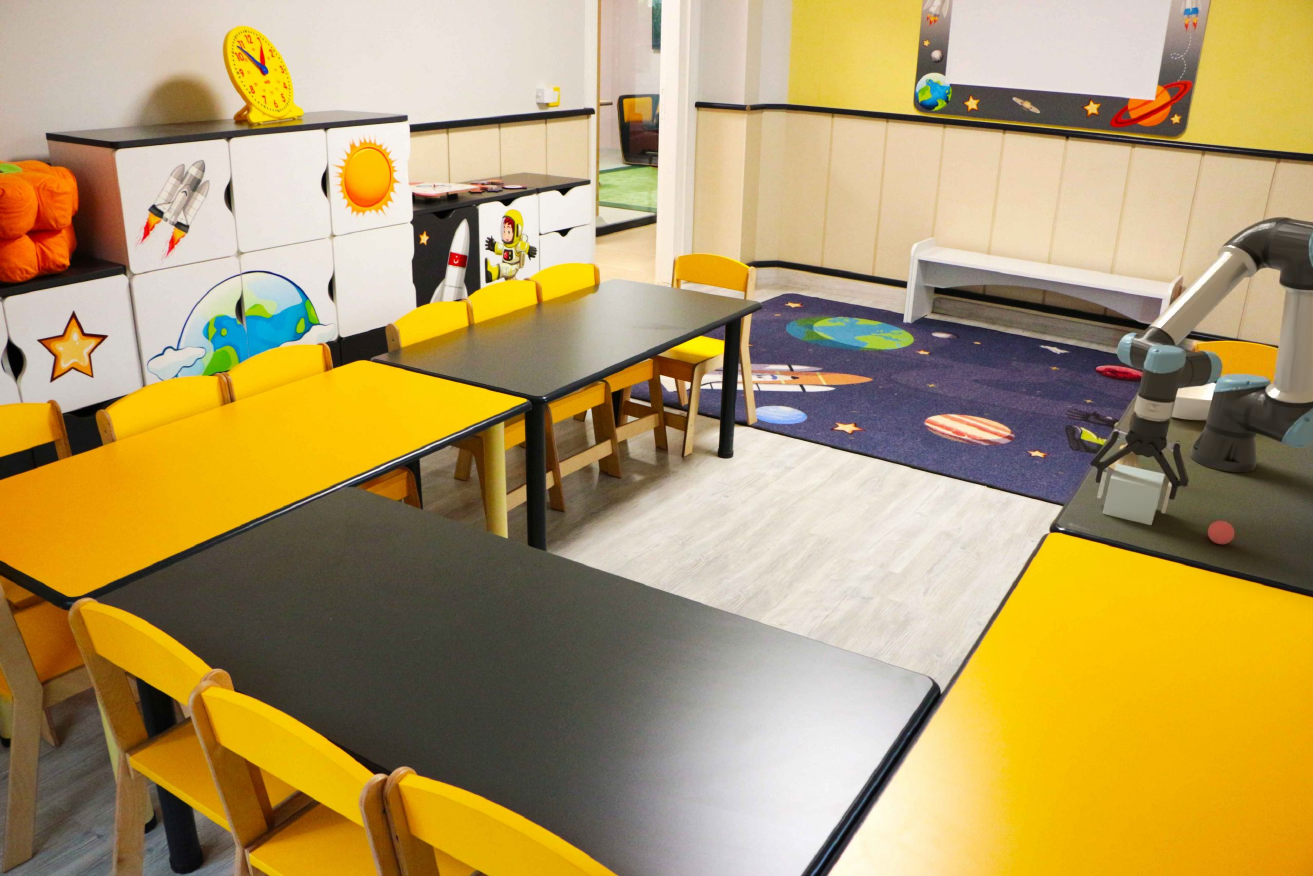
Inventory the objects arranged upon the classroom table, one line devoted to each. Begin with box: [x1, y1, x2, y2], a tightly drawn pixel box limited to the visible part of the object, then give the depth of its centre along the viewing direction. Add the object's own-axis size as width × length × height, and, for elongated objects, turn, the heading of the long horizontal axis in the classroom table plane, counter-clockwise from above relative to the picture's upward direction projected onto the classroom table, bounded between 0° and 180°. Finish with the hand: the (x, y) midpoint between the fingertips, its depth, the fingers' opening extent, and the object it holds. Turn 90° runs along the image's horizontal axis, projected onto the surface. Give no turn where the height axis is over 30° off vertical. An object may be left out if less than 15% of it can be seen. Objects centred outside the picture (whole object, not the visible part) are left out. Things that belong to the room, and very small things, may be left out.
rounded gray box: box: [1102, 464, 1166, 526], centre depth 230 cm, size 10×10×9 cm
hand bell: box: [1107, 410, 1143, 471], centre depth 254 cm, size 8×8×16 cm
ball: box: [1207, 520, 1235, 545], centre depth 218 cm, size 5×5×5 cm
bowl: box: [1171, 382, 1216, 421], centre depth 295 cm, size 21×21×9 cm
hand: (1131, 503), depth 231 cm, fingers open, 13 cm apart
